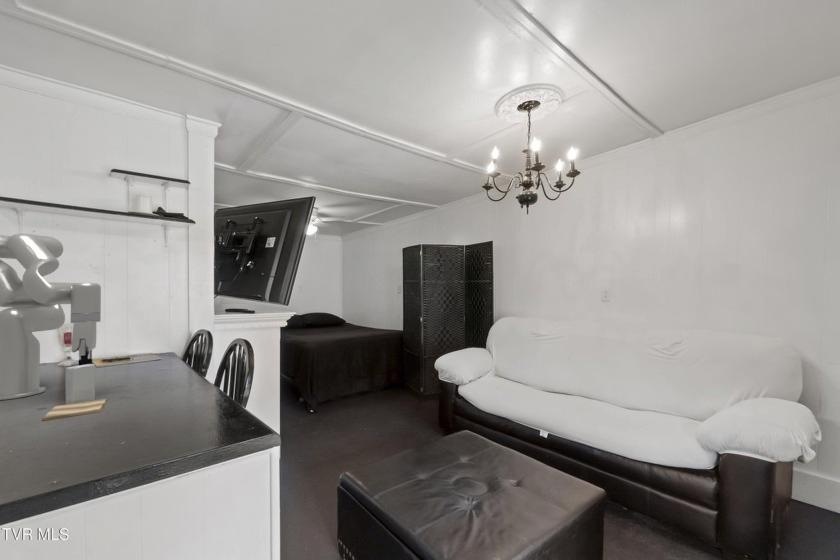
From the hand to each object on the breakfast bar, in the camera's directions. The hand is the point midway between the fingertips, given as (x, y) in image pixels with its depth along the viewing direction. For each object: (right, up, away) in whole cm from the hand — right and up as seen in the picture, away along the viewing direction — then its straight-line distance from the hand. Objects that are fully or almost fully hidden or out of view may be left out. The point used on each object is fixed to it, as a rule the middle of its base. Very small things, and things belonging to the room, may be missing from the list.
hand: (85, 370), depth 118 cm
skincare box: (+4, -9, -6) cm, 12 cm away
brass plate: (+10, -9, -13) cm, 19 cm away
